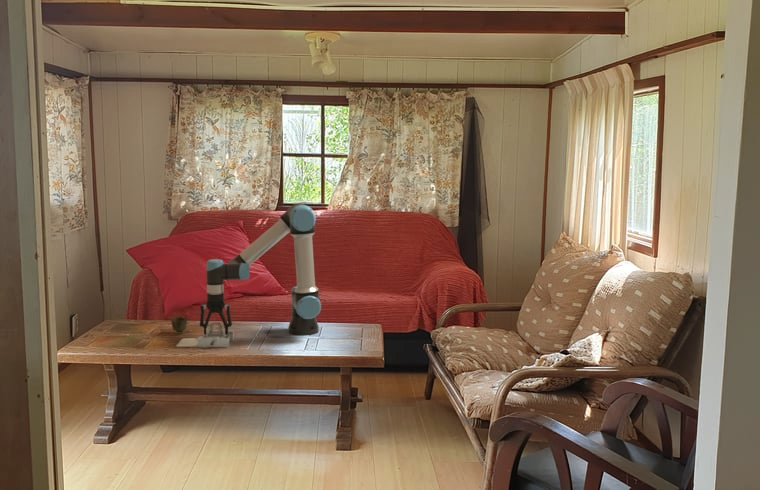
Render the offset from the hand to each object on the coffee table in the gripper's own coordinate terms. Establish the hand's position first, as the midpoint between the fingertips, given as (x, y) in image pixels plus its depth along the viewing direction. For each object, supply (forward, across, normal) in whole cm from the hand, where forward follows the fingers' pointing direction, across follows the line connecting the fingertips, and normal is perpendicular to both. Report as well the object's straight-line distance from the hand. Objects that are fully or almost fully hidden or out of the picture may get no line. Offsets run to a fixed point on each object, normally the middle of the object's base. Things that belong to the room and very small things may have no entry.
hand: (216, 340), depth 321 cm
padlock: (+1, 0, 0) cm, 1 cm away
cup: (+1, +21, -16) cm, 26 cm away
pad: (+1, +12, 0) cm, 13 cm away
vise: (+1, 0, +2) cm, 2 cm away
